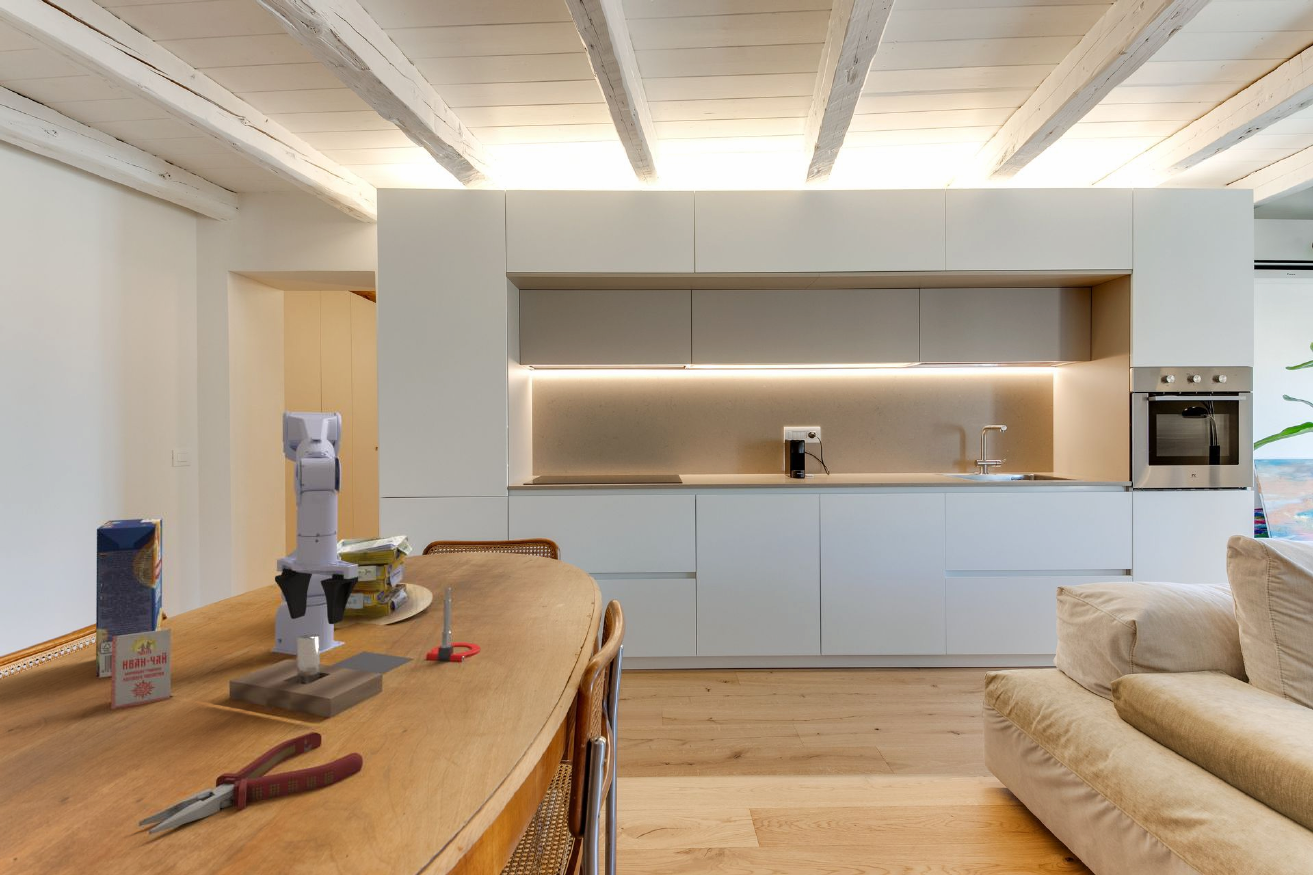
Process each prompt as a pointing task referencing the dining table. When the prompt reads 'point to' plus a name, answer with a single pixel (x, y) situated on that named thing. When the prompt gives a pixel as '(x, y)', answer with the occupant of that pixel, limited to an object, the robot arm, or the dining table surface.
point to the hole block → (306, 688)
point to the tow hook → (446, 649)
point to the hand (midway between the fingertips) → (316, 619)
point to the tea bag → (140, 668)
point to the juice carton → (127, 583)
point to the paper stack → (380, 582)
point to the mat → (372, 662)
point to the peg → (307, 658)
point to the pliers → (258, 783)
